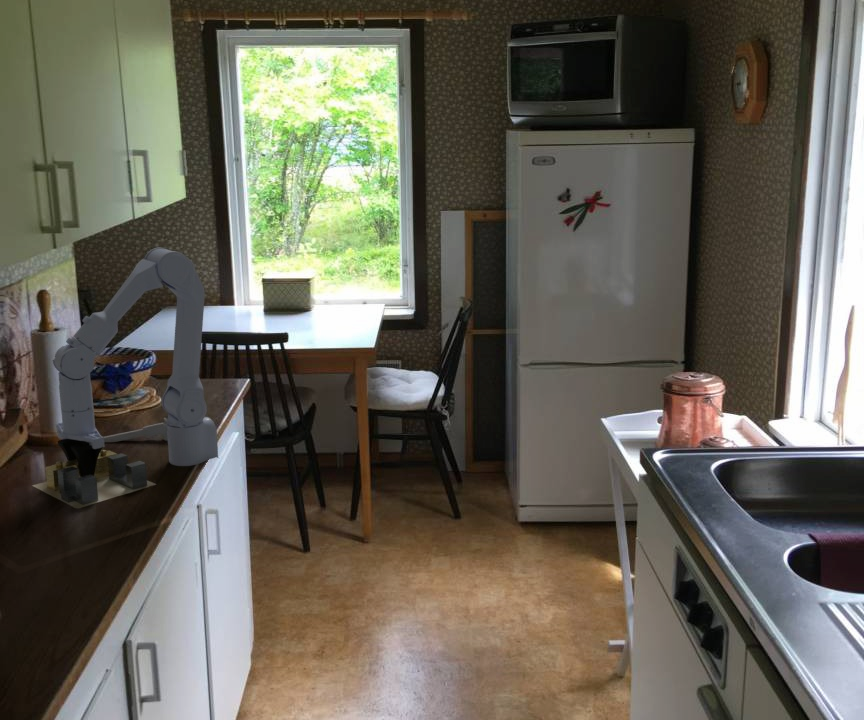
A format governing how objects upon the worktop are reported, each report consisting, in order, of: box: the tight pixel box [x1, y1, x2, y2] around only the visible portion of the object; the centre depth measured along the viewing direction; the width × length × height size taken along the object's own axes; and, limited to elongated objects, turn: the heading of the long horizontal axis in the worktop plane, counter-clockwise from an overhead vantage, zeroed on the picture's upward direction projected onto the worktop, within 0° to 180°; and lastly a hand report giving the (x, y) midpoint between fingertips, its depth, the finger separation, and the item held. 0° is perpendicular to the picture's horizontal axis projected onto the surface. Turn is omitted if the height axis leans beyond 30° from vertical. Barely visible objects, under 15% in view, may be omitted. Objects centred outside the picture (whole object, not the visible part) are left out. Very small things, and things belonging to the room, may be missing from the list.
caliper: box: [103, 417, 168, 443], centre depth 198 cm, size 20×1×6 cm, turn 97°
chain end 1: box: [57, 466, 98, 505], centre depth 165 cm, size 4×8×4 cm, turn 49°
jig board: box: [31, 476, 157, 510], centre depth 172 cm, size 16×17×1 cm
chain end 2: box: [107, 453, 148, 490], centre depth 173 cm, size 4×8×4 cm, turn 49°
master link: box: [44, 449, 118, 491], centre depth 174 cm, size 13×3×5 cm, turn 139°
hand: (83, 476), depth 175 cm, fingers closed on master link, 3 cm apart
